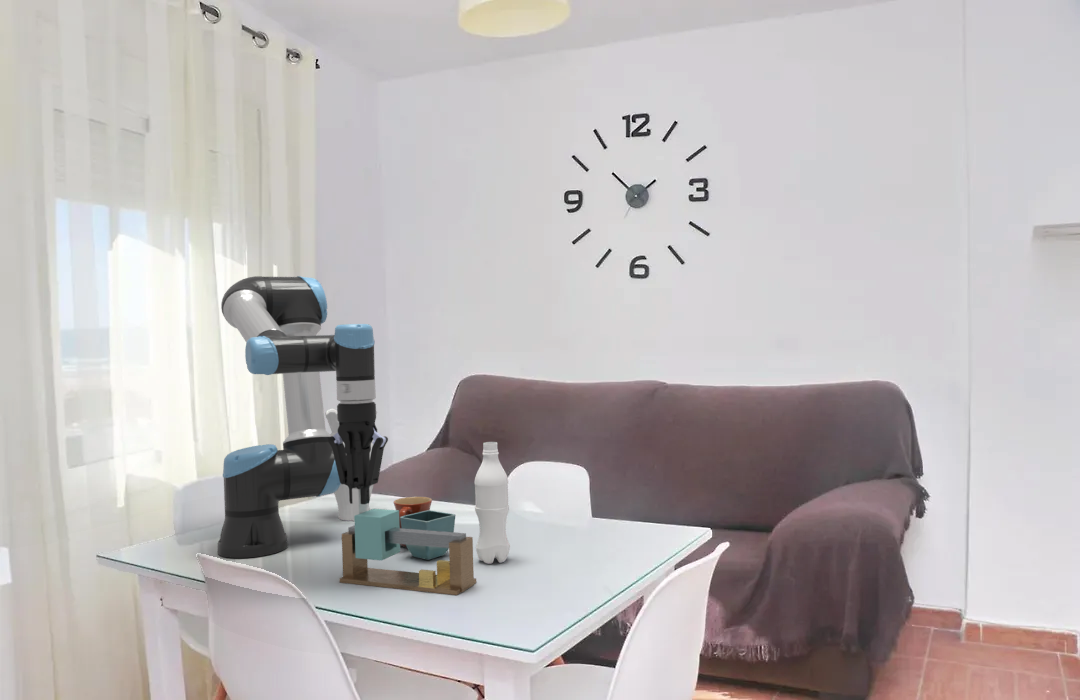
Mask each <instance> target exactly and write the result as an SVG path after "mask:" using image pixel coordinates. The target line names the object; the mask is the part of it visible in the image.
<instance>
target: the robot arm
mask: <svg viewBox="0 0 1080 700" xmlns="http://www.w3.org/2000/svg"><path fill="white" fill-rule="evenodd" d="M220 309H221V313H222V316H223V317H224V319H225V321H226V322H227V323H228V324H229V325H230V326H231V327H233V328H235V329H237V331H238V332H239V334H240V335H241V337H243V340H244V341H245V343H246V344H245V351H244V353H245V354H244V358H245V363H246V368H247V371H248V372H249V373H251V374H253V375H265V376H272V375H282V378H283V389H284V390H283V391H284V399H285V409H286V411H285V412H286V420H287V421H286V422H287V431H288V432H287V433H288V435H287V437H286V438H285V439H284V441H283V442H282V449H279V448H277V446H276V444H272V443H271V444H270V443H269V444H267V443H266V444H261V445H258V444H257V445H253V446H248V447H243V448H240V449H236V450H234V451H231V452H229V453H228V454H227V455H225V457H224V459H223V467H222V468H223V472H222V478H223V496H224V498H223V499H224V501H223V502H224V522H223V524H222V527H221V528H222V529H221V532H220V537H219V540H218V542H217V554H218V555H219V556H220V557H223V558H231V559H242V558H243V559H245V558H247V559H248V558H257V557H263V556H268V555H269V556H270V555H271V554H272V555H273V554H276V553H280V552H282V551H284V550H286V549H287V548H288V545H289V543H288V542H289V541H288V540H289V539H288V535H287V533H286V531H285V528H284V525H283V523H282V519H281V516H280V511H279V501H287V500H288V501H289V500H295V499H297V500H298V499H303V498H304V499H305V498H311V497H321V496H324V495H325V496H326V495H331V494H334V492H335V491H337V489H338V488H339V486H340V484H345V485H347V486H348V487H349V501H350V504H353V521H352V522H355V519H354V516H355V515H358V514H361V513H363V512H366V511H367V503H369V504H370V501H371V497H370V496H369V495H370V493H369V488H370V486H371V485H373V484H374V485H376V484H378V482H379V478H380V471H381V467H382V463H383V462H382V461H383V455H384V450H385V446H386V445H387V444H388V441H389V438H388V436H385V435H384V436H382V435H381V433H379V432H378V428H377V426H376V419H377V414H376V411H377V406H376V405H377V404H376V402H374V401H373V400H375V399H376V379H375V376H376V370H375V339H374V330H373V326H372V325H370V324H367V323H350V324H349V323H346V324H338V325H336V326H335V328H334V334H329V335H328V334H326V335H325V334H324V335H323V334H322V335H321V334H320V335H319V334H318V333H319V332H320V331H321V330H322V326H321V325H322V324H324V323H325V322H327V318H328V303H327V297H326V292H325V290H324V288H323V286H322V283H320V281H319V280H318V279H316V278H314V277H306V276H305V277H304V276H301V275H299V276H298V275H297V276H259V275H257V276H249V277H246V278H243V279H241V280H238V281H237V282H235V283H233V284H232V285H231V286H230V287H229V288H228V289H227V290H226V291H225V293H224V294H223V296H222V299H221V308H220ZM317 334H318V335H317ZM320 372H321V373H323V372H325V373H327V372H335V375H336V376H335V377H336V378H335V379H336V380H335V381H336V400H337V401H338V402H339V403H337V404H336V408H337V409H336V411H337V419H338V421H339V427H338V432H337V433H336V434H335V435H334V436H331V435H330V434H331V433H329V432H328V431H327V430H326V420H325V412H324V411H325V410H324V403H323V394H322V393H323V392H322V384H321V375H320ZM372 441H373V442H372ZM343 442H344V444H345V447H344V444H343ZM371 442H372V444H374V445H373V447H372V451H371ZM278 449H279V450H278ZM370 451H371V456H370ZM346 454H347V455H346ZM374 485H373V486H374Z"/></svg>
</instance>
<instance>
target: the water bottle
mask: <svg viewBox="0 0 1080 700" xmlns="http://www.w3.org/2000/svg"><path fill="white" fill-rule="evenodd" d="M482 445H483V447H482V448H483V450H482V456H483V457H482V462H481V463H480V466H479V468H478V469H477V472H476V475H475V477H474V483H473V484H474V497H475V506H474V511H475V513H476V516H477V519H478V525H479V534H478V538H477V539H478V540H477V543H476V547H475V549H476V550H475V551H476V555H477V558H478V559H479V561H481V562H484V564H489V565H490V564H491V565H492V564H493V563H494V560H495V559H496V560H497V562H498V563H500V564H502V563H504V562H505V561H507V559H508V556H509V554H510V549H511V544H510V543H509V539H508V537H507V531H506V530H507V529H506V526H507V525H506V524H507V518H508V514H509V511H510V505H509V478H508V475H507V473H506V471H505V470H504V468H503V465H502V463H501V461H500V459H499V454H500V452H499V449H498V442H497V441H486V442H483V444H482Z"/></svg>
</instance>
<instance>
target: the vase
mask: <svg viewBox="0 0 1080 700" xmlns="http://www.w3.org/2000/svg"><path fill="white" fill-rule="evenodd" d="M377 413H378V411H377V410H376V415H377ZM324 417H325V418H326V421H327V423H328V426H329V429H330V431H331V433H329V434H330V435H331V436H334V435H335V434H336V433H337V432H338V427H339V421H338V419H337V409H335V408H329V409H327V410H326V411H325V412H324ZM372 442H373V441H372ZM372 442H371V451H372V447H373V445H374V444H372ZM343 444H344V442H343ZM344 447H345V444H344ZM371 451H370V456H371ZM346 455H347V454H346ZM374 485H375V484H373V485H371V486H370V488H369V493H370V495H369V496H370V498H371V496H372V493H373V488H374ZM333 494H334V497H335V500H336V503H337V504H336V505H337V509H338V511H337V513H338V516H337V517H338V519H339V520H340V521H345V522H346V521H347V522H351V521H352V522H354V521H353V504H350V501H349V487H348V486H347V485H345V484H340V486H339V488H338V489H337V491H335V492H334V493H333ZM369 510H370V502H369V503H367V511H369Z"/></svg>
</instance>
